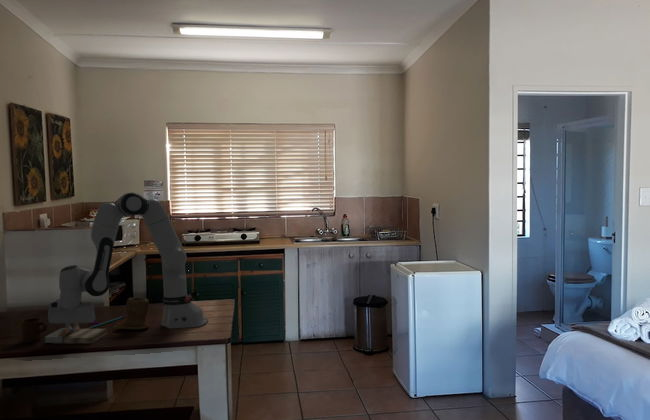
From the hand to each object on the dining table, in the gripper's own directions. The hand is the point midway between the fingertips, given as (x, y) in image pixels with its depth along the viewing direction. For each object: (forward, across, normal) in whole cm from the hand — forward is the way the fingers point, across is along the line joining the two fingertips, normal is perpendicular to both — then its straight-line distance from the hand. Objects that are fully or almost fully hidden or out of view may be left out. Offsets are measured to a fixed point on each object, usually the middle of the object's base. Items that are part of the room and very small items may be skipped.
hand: (72, 332), depth 229 cm
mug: (+4, +17, 0) cm, 18 cm away
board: (+4, -4, -3) cm, 7 cm away
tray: (+4, +7, -3) cm, 8 cm away
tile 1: (+2, +3, -6) cm, 7 cm away
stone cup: (+4, -20, -19) cm, 28 cm away
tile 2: (+2, +3, 0) cm, 4 cm away
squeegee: (+5, +4, -27) cm, 28 cm away
